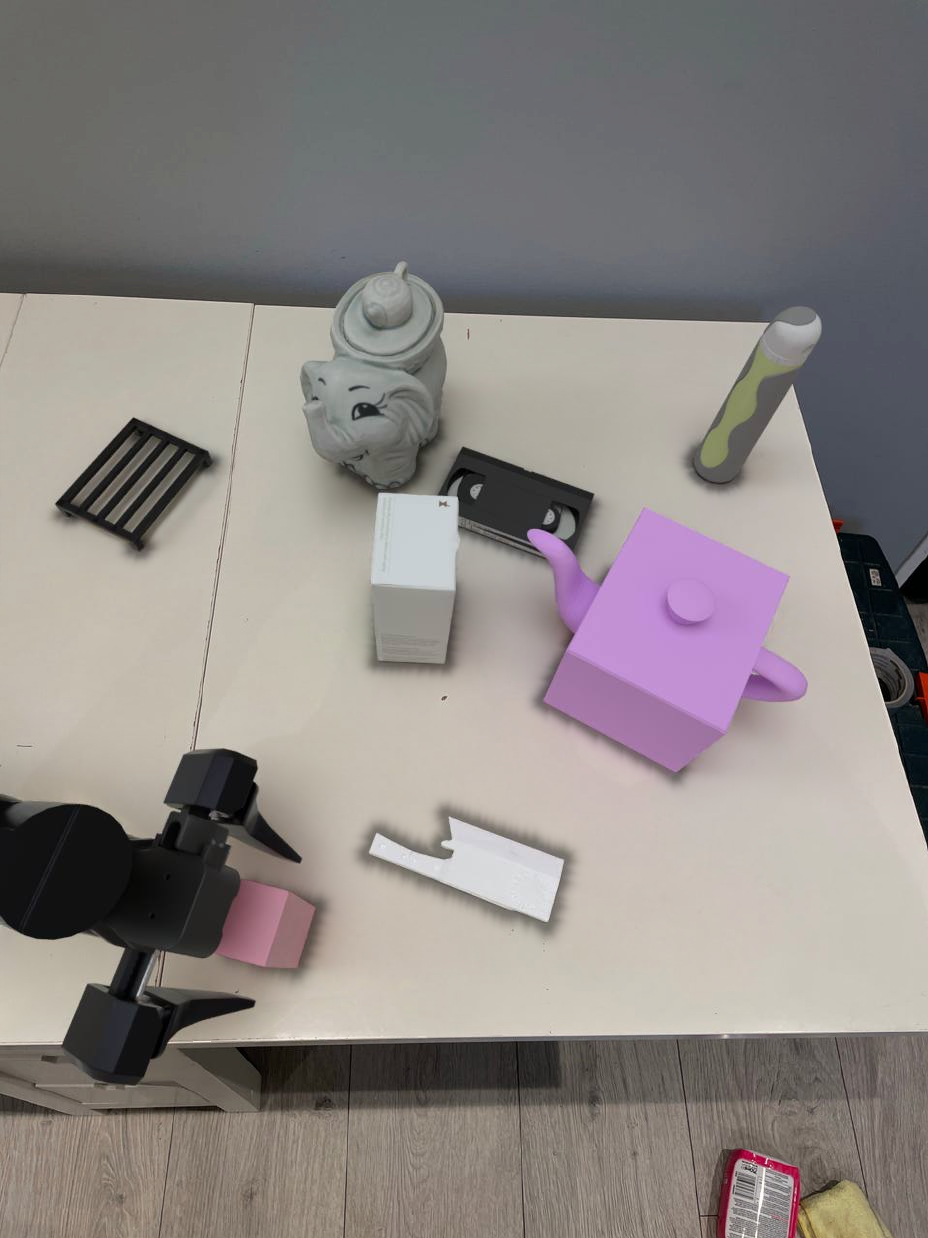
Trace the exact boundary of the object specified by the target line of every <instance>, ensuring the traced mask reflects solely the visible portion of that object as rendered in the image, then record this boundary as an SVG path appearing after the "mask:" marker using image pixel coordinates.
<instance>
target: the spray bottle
mask: <svg viewBox="0 0 928 1238" xmlns="http://www.w3.org/2000/svg"><path fill="white" fill-rule="evenodd" d="M822 327H823V326H822V320H821V317H820V316H819V315H818V314H817V313H816V311H815V310H814V309H813V308H811V307H808V306H804V305H795V306H791V307H789V308H787V309H785V310H783V311H781V312H779V313H778V314H776V315H775V317H774V318H773V319H772V320H771V321H770V322H769V324H768V325H767V326H766V327H765V329H764V330H763V333H762V335H761V336H760V337H759V338H758V341H756V344H755V346H754V348H753V349H752V351H751V353H750V355H749V357H748V358H747V360H746V362H745V364H744V365H743V367H742V369H741V370H740V373H739V375H738V376H737V378H736V379H735V381H734V383H733V385H732V386H731V388H730V391H729V392H728V394H727V396H726V397H725V399H724V401H723V403H722V404H721V406H720V408H719V410H718V411H717V414H716V416H715V417H714V419H713V420H712V423H711V424H710V426H709V428H708V430H707V431H706V433H705V435H704V437H703V439H702V441H701V442H700V444H699V446H698V448H697V449H696V451H695V453H694V456H693V465H694V469H695V470H696V472H697V474H698V475H700V476H701V478H703V479H705V480H707V481H708V482H711V483H717V484H718V483H719V484H723V483H727V482H729V481H732V480H733V479H734V478H735V477H737V476H738V474H739V472H740V471H741V469H742V468H743V466H744V464H745V463H746V461H747V459H748V458H749V456H750V454H751V452H752V451H753V450H754V447H756V445H757V443H758V442H759V440H760V438H761V436H762V435H763V433H764V432H765V430H766V428H767V426H768V425H769V423H770V422H771V420H772V418H773V417H774V415H775V413H776V412H777V410H778V409H779V407H780V405H781V404H782V402H783V400H784V399H785V397H786V395H787V394H788V392H789V391H790V389H791V387H793V385H794V383H795V381H796V379H797V377H798V376H799V374H800V373H801V371H802V369H803V368H804V366H805V362H806V360H807V359H808V357H809V356H810V354H811V353H812V352H813V349H814V348H815V346H816V344H817V343H818V342H819V340H820V338H821V334H822V331H823V329H822Z"/></svg>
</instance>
